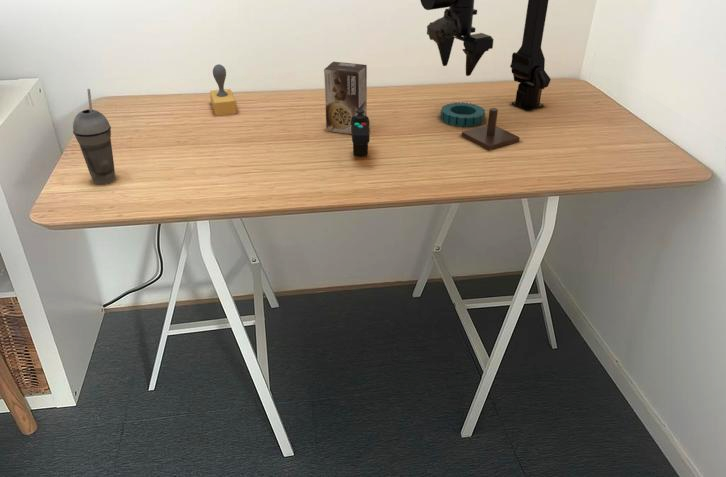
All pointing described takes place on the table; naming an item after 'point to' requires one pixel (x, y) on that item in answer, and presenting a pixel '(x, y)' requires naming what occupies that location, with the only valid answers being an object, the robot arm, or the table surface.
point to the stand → (490, 134)
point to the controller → (360, 133)
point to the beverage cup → (95, 144)
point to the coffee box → (344, 94)
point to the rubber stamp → (222, 94)
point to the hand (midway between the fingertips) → (456, 70)
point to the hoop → (454, 117)
